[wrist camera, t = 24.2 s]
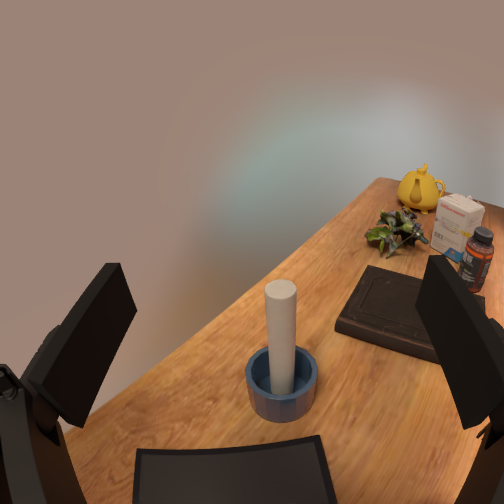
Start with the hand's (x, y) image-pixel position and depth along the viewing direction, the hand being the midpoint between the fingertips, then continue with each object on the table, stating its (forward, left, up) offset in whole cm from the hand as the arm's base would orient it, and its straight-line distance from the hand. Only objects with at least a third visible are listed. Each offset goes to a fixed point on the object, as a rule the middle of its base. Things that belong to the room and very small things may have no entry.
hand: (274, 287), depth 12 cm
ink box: (+46, +34, -24) cm, 62 cm away
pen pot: (+2, +10, -24) cm, 26 cm away
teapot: (+52, +57, -24) cm, 81 cm away
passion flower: (+31, +37, -24) cm, 54 cm away
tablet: (-5, -4, -24) cm, 25 cm away
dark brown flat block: (+25, +17, -24) cm, 39 cm away
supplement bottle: (+41, +22, -24) cm, 52 cm away
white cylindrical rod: (+2, +10, -24) cm, 25 cm away
